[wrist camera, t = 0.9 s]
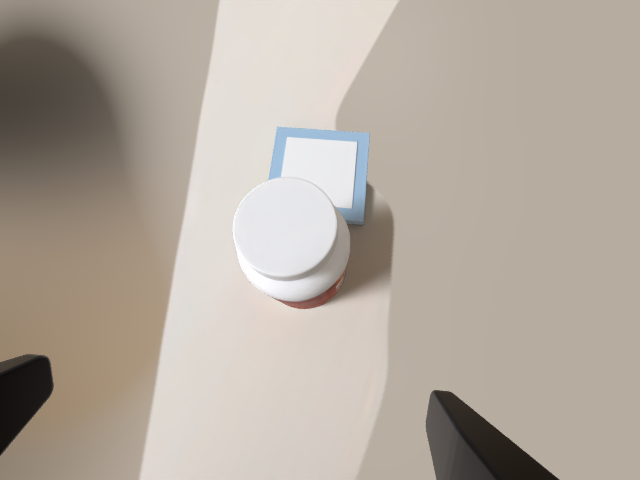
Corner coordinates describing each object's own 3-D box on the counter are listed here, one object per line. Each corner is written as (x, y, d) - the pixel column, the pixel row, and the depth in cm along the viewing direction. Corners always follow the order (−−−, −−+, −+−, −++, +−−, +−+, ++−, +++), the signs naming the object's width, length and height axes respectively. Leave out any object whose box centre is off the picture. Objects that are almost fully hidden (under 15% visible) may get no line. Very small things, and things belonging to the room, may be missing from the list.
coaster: (362, 225, 25) (363, 221, 24) (265, 216, 25) (263, 212, 24) (368, 138, 27) (369, 132, 26) (278, 132, 27) (276, 126, 26)
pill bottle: (352, 301, 23) (369, 282, 13) (271, 316, 23) (220, 308, 12) (337, 225, 25) (341, 150, 14) (262, 238, 25) (209, 173, 14)
